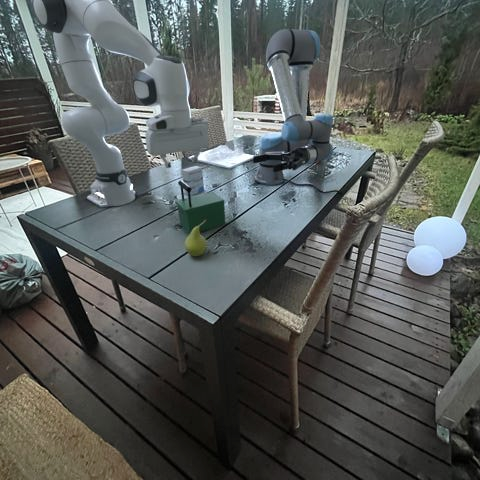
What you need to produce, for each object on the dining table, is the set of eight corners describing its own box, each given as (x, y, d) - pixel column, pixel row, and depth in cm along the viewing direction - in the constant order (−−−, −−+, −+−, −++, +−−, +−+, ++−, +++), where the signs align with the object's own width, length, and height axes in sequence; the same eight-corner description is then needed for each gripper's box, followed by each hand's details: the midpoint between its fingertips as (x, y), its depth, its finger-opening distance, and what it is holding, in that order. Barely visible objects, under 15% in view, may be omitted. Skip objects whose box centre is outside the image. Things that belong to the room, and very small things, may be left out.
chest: (189, 235, 98) (187, 212, 94) (180, 224, 105) (177, 203, 100) (225, 224, 105) (224, 202, 100) (214, 214, 112) (212, 194, 107)
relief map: (229, 168, 161) (229, 160, 158) (188, 158, 179) (187, 150, 176) (255, 158, 179) (255, 150, 177) (215, 150, 197) (215, 142, 194)
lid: (185, 213, 93) (182, 189, 89) (175, 203, 100) (172, 181, 95) (224, 202, 100) (223, 180, 96) (212, 194, 107) (211, 173, 102)
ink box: (198, 188, 136) (196, 165, 129) (204, 191, 133) (202, 167, 126) (184, 193, 131) (181, 169, 124) (190, 196, 128) (187, 171, 121)
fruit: (184, 250, 90) (179, 218, 83) (206, 245, 92) (203, 214, 86) (188, 261, 85) (184, 228, 78) (211, 256, 87) (209, 223, 80)
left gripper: (202, 115, 89) (205, 157, 97) (140, 121, 80) (149, 167, 87) (211, 118, 85) (214, 162, 92) (146, 124, 75) (155, 173, 83)
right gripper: (285, 141, 124) (246, 147, 115) (326, 153, 106) (284, 162, 97) (283, 157, 128) (246, 165, 119) (323, 172, 110) (282, 182, 101)
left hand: (182, 164), depth 90 cm, fingers open, 8 cm apart
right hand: (263, 164), depth 108 cm, fingers open, 13 cm apart
